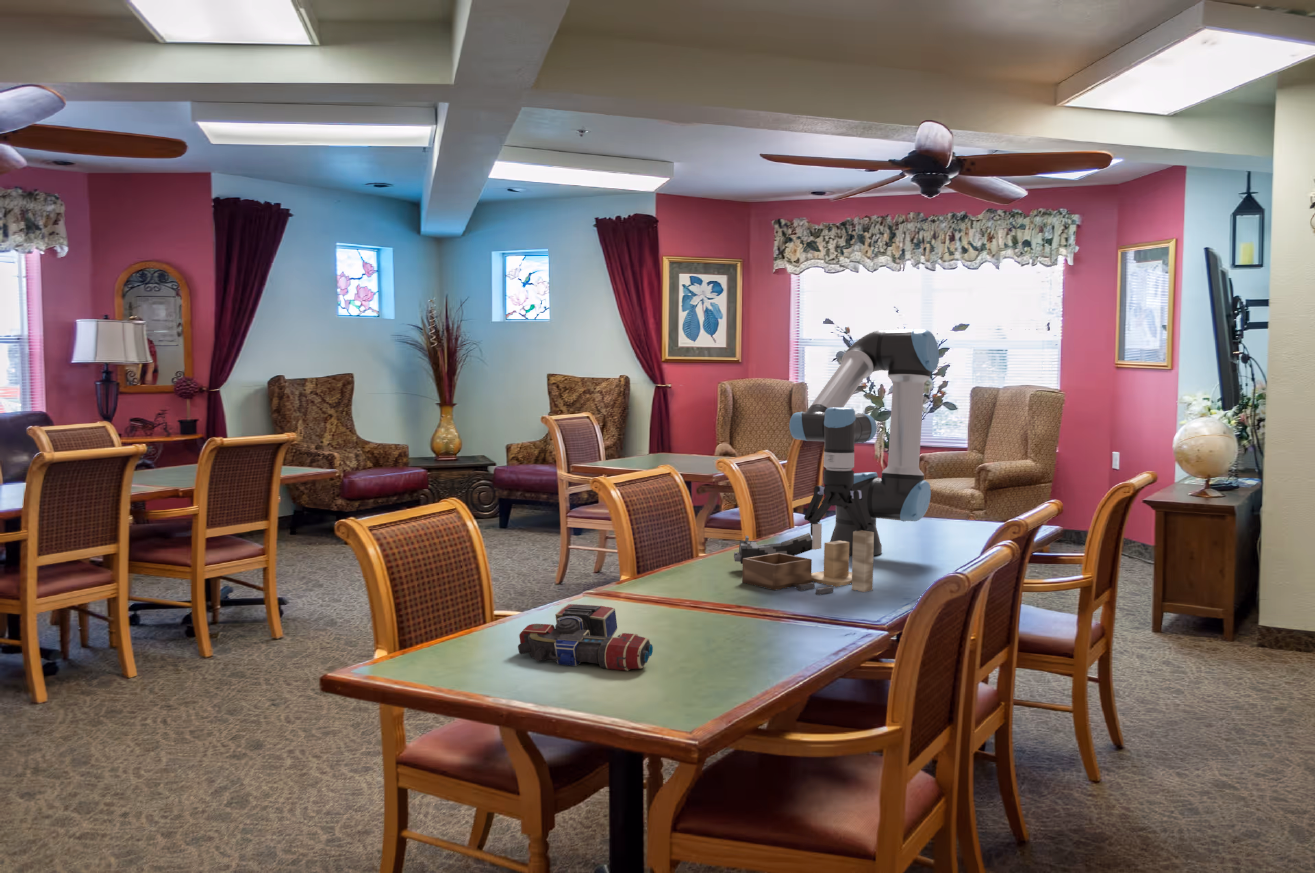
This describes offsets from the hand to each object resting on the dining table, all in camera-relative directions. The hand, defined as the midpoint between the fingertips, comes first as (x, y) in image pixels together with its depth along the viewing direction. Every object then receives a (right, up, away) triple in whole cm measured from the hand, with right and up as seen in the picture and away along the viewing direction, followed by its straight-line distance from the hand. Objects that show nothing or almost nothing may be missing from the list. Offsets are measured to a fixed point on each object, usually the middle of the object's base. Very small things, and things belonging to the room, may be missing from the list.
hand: (837, 552), depth 250 cm
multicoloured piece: (-57, -11, -68) cm, 90 cm away
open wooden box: (-16, -7, -5) cm, 18 cm away
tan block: (+4, -7, -12) cm, 15 cm away
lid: (0, -7, 0) cm, 7 cm away
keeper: (-9, -7, -13) cm, 17 cm away
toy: (-15, -6, +10) cm, 19 cm away
